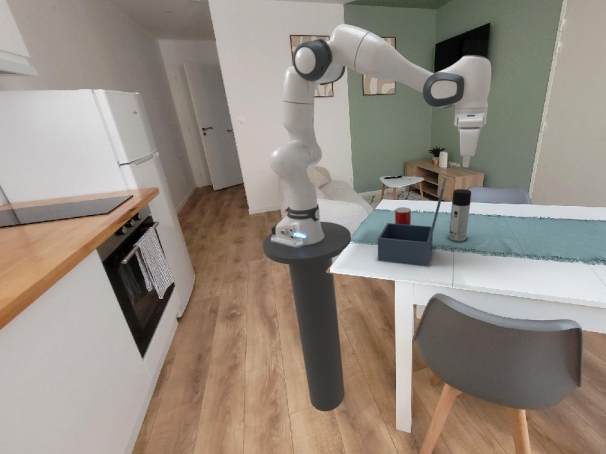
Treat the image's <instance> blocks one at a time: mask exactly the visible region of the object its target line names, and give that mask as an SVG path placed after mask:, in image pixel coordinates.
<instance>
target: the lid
mask: <svg viewBox="0 0 606 454" xmlns="http://www.w3.org/2000/svg"><path fill="white" fill-rule="evenodd" d="M446 184H447V177H444V178H443V182H442V184H441V185H442V186H441V190H440V194H439V197H438V201H437V204H436V208H435V211H434V212H435V213H434V217H433V221H432V225H431V227H432V228H431V232H430V236H429V240H428V242H431V238H432V234H433V235H434V230H435V227H436V223H437V219H438V216H439V215H438V214H439V211H440V208H441V203H442V199H443V195H444V191H445V187H446ZM432 239H433V238H432Z"/></svg>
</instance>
